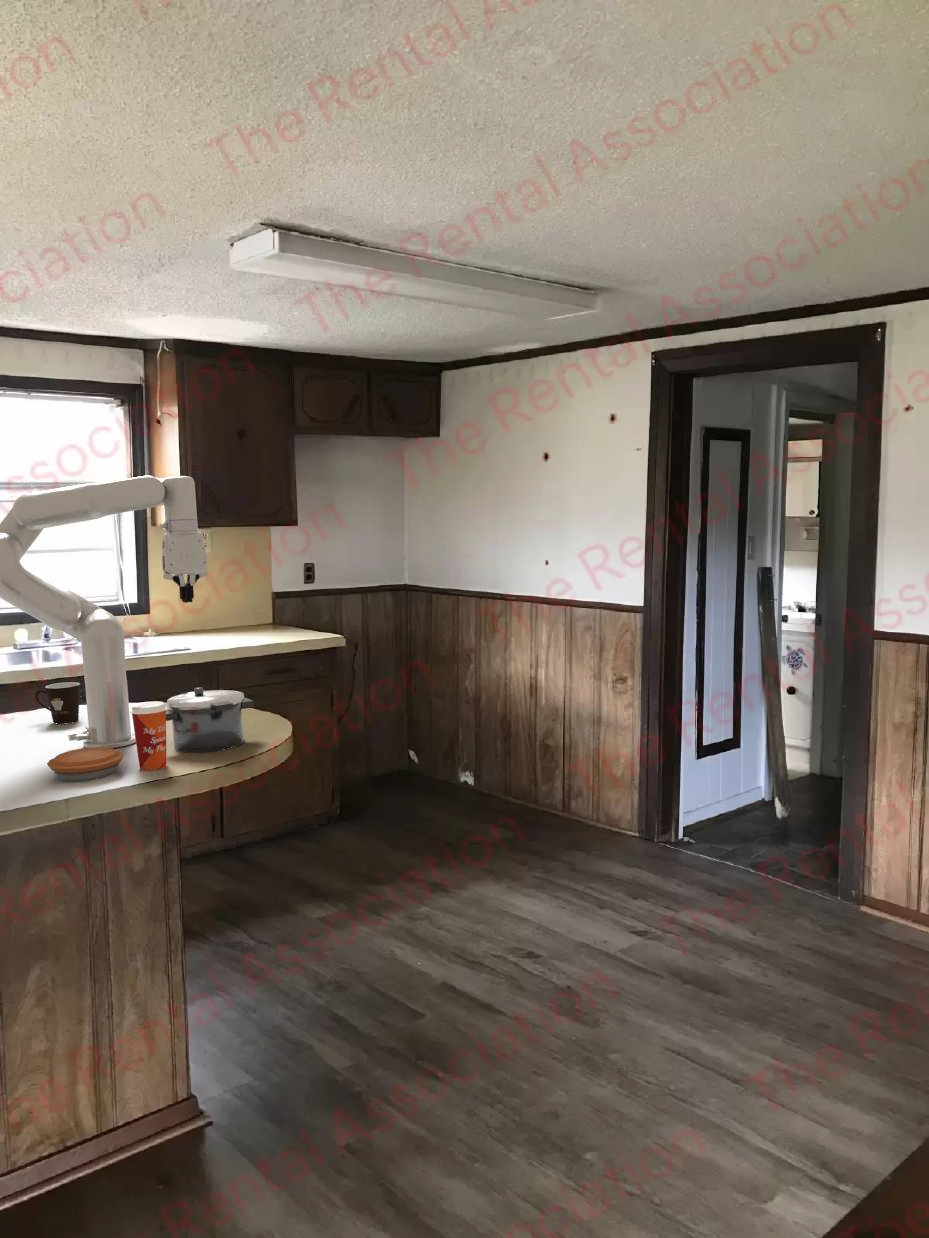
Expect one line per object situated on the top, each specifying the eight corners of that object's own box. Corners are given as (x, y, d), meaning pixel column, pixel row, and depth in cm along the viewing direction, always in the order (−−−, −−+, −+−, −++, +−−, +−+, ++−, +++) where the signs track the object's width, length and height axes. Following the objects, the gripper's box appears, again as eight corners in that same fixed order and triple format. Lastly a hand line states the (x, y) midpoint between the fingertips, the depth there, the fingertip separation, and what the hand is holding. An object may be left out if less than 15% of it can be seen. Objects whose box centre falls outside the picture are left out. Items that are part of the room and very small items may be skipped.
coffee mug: (89, 719, 274) (86, 683, 273) (62, 726, 267) (58, 689, 266) (62, 716, 281) (59, 680, 280) (35, 722, 273) (31, 686, 272)
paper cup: (151, 773, 216) (146, 709, 214) (127, 769, 220) (122, 706, 218) (179, 764, 222) (174, 702, 221) (155, 760, 226) (150, 699, 225)
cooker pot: (175, 758, 228) (171, 713, 227) (149, 743, 243) (146, 701, 242) (265, 742, 240) (262, 699, 239) (235, 729, 255) (232, 688, 254)
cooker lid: (187, 716, 224) (185, 703, 224) (156, 703, 242) (156, 690, 242) (261, 704, 234) (260, 692, 234) (227, 692, 252) (226, 680, 251)
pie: (134, 775, 215) (133, 752, 215) (59, 789, 206) (56, 766, 206) (113, 761, 228) (111, 739, 227) (40, 774, 219) (38, 752, 218)
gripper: (155, 529, 239) (161, 605, 242) (216, 525, 248) (221, 600, 250) (146, 528, 246) (152, 603, 248) (206, 525, 254) (211, 598, 256)
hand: (187, 601), depth 249 cm, fingers closed
